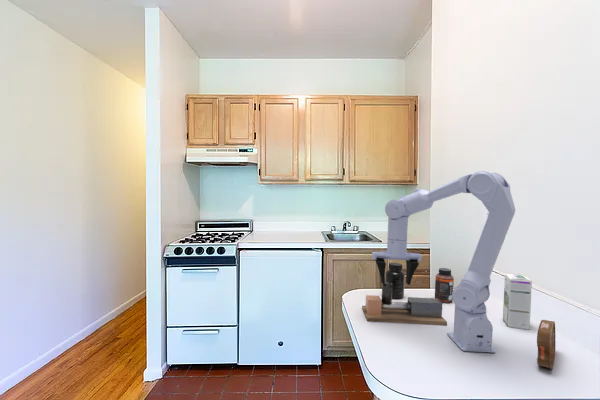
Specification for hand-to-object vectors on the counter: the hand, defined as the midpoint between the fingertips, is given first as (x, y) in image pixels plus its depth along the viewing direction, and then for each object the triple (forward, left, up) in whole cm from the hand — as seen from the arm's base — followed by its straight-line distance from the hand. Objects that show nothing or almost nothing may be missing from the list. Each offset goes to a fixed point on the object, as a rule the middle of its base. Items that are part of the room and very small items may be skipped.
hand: (395, 283), depth 100 cm
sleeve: (0, -9, -10) cm, 14 cm away
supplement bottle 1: (+19, -5, -11) cm, 22 cm away
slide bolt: (0, 0, -8) cm, 8 cm away
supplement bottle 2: (+17, -22, -11) cm, 30 cm away
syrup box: (-2, -35, -11) cm, 37 cm away
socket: (0, +6, -10) cm, 12 cm away
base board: (0, -3, -10) cm, 11 cm away
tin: (-22, -30, -11) cm, 39 cm away
